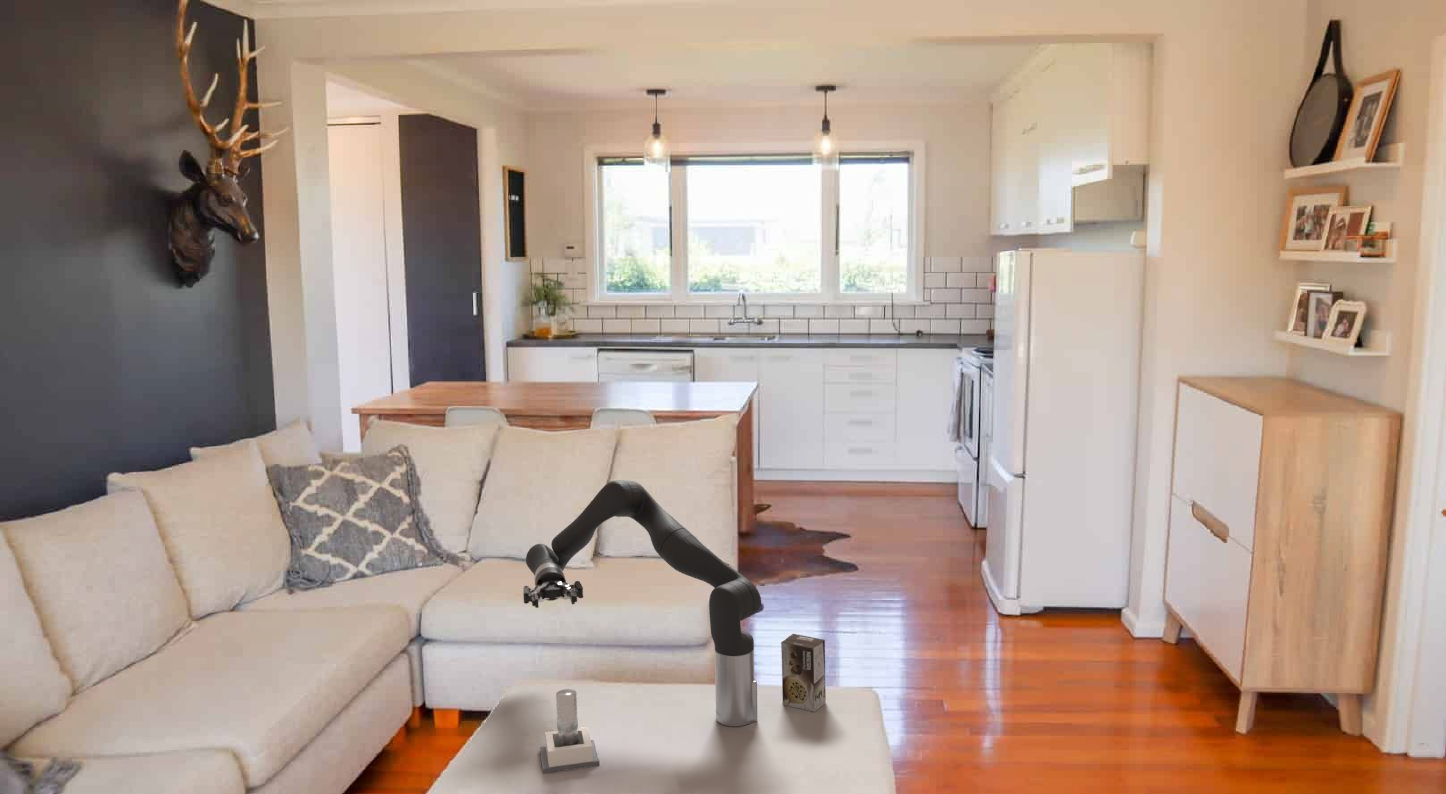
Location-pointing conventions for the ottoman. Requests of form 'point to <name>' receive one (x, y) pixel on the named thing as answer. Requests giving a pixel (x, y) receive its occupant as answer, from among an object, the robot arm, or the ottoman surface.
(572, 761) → the dock
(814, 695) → the cookie box
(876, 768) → the ottoman surface
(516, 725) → the ottoman surface
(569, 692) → the silver metal cylinder
